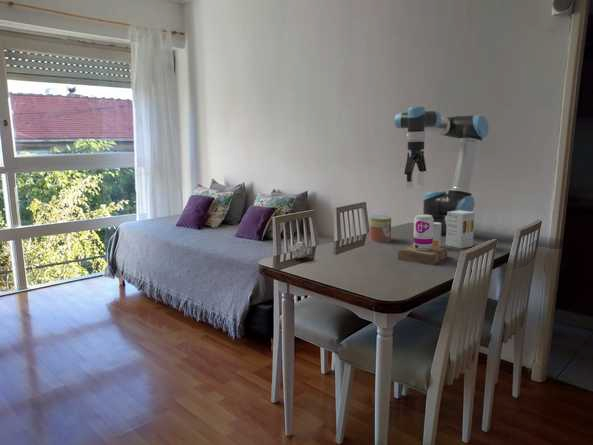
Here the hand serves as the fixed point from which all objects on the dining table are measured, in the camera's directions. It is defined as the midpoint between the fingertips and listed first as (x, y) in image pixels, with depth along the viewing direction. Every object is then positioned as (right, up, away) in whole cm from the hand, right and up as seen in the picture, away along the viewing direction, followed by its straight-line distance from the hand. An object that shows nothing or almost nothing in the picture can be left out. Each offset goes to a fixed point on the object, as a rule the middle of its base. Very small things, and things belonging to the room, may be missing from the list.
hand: (415, 186), depth 213 cm
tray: (0, -32, -13) cm, 35 cm away
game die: (-55, -33, -10) cm, 65 cm away
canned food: (-12, -26, +24) cm, 38 cm away
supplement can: (0, -29, -14) cm, 32 cm away
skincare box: (+10, -29, +6) cm, 31 cm away
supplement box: (+24, -28, +8) cm, 38 cm away
